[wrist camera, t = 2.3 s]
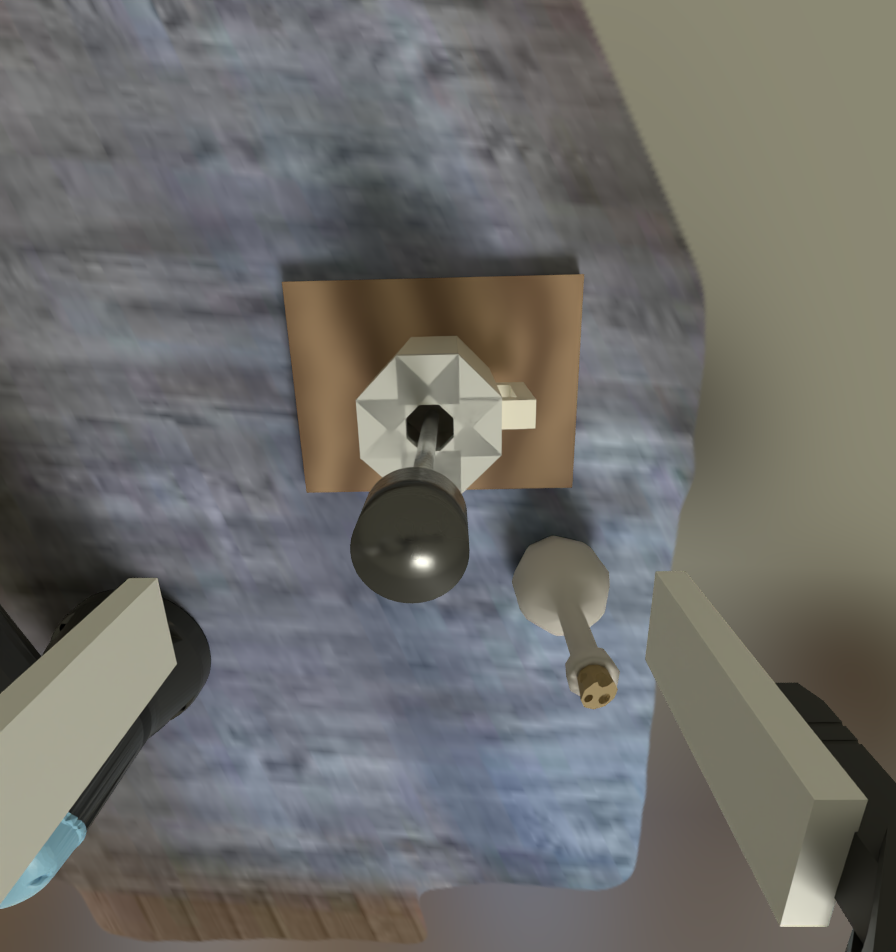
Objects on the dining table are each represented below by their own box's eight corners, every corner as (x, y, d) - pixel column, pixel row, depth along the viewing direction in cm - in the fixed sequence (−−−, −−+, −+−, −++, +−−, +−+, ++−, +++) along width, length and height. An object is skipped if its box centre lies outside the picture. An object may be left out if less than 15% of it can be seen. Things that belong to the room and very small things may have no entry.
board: (310, 486, 51) (306, 492, 49) (287, 281, 45) (281, 281, 43) (568, 481, 50) (572, 487, 49) (579, 274, 44) (583, 274, 43)
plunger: (404, 445, 38) (355, 604, 19) (400, 387, 36) (345, 497, 18) (461, 443, 38) (469, 602, 19) (460, 386, 36) (468, 494, 18)
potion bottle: (522, 518, 52) (556, 632, 35) (611, 538, 52) (687, 660, 35) (498, 596, 54) (518, 737, 37) (583, 614, 55) (641, 761, 38)
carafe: (385, 443, 48) (363, 496, 36) (379, 337, 45) (351, 356, 33) (518, 440, 47) (540, 493, 35) (520, 334, 44) (546, 352, 32)
